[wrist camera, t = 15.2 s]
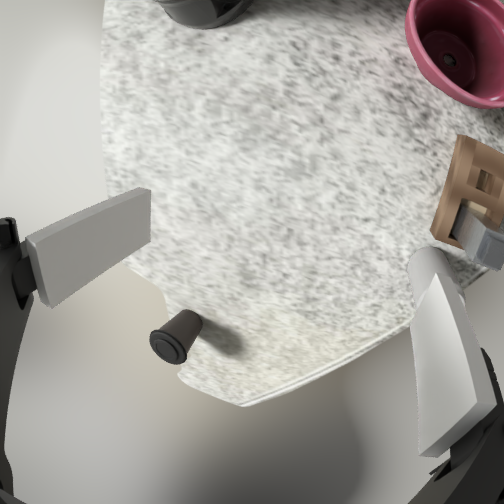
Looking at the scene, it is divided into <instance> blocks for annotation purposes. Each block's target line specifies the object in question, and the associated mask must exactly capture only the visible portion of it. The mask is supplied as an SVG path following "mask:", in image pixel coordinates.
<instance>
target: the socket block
mask: <svg viewBox="0 0 504 504" xmlns="http://www.w3.org/2000/svg"><path fill="white" fill-rule="evenodd" d="M460 203H461V204H463V205H466V206H468V207H470V208H472V209H475V210H477V211H479V212H481V213H483V214H484V215H485V216H486V217H487V218H489V219H490V220H491V221H492V222H493V223H494V224H495V225H497V226H498V227H500V224H501V221H502V219H503V216H504V154H502V153H500V152H498V151H497V150H495V149H493V148H491V147H489V146H487V145H485V144H483V143H481V142H479V141H477V140H475V139H473V138H470V137H468V136H466V135H457V140H456V144H455V148H454V153H453V157H452V161H451V164H450V168H449V172H448V175H447V179H446V182H445V186H444V189H443V192H442V196H441V199H440V202H439V205H438V208H437V211H436V214H435V217H434V220H433V223H432V225H431V228H430V232H431V233H432V235H433V237H434V238H435V239H436V240H439V241H441V242H444V243H447V244H450V245H452V246H455V247H457V248H460V249H463V247H462V246H461V245H460V243H459V242H458V240H457V239H456V238H455V236H454V235H453V234H452V232H451V228H452V225H453V223H454V220H455V217H456V214H457V211H458V208H459V205H460ZM463 250H464V249H463Z"/></svg>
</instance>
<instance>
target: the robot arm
mask: <svg viewBox="0 0 504 504" xmlns="http://www.w3.org/2000/svg"><path fill="white" fill-rule="evenodd" d="M154 1H156V2H158V3H159V4H160V5H161V6H162V7H163V8H164V10H165V12H166V13H167V14H168V16H169V17H170V18H171V19H173V20H174V21H176V22H177V23H179V24H182V25H184V26H186V27H189V28H193V29H209V28H214V27H218V26H221V25H224V24H226V23H228V22H230V21H232V20H233V19H235V18H236V17H238V16H239V15H241V14H242V13H243V12H244V11H245V10H246V9H247V8H248V7H249V6H250V5H251V3H252V2H253V0H154ZM150 214H151V190H148V189H144V188H140V187H139V188H136V189H133V190H131V191H128V192H125V193H123V194H120V195H118V196H115V197H113V198H110V199H108V200H106V201H103V202H101V203H98V204H96V205H93V206H91V207H89V208H86V209H84V210H82V211H80V212H77V213H75V214H73V215H71V216H68V217H66V218H64V219H62V220H60V221H58V222H55V223H53V224H51V225H49V226H47V227H45V228H43V229H41V230H39V231H37V232H35V233H33V234H31V235H29V236H27V237H25V241H23V242H21V243H20V241H19V236H18V231H17V226H16V220H15V219H14V218H10V217H6V218H1V219H0V504H26V503H24V502H22V501H20V500H18V499H17V498H15V497H14V495H13V476H12V470H11V467H10V464H9V462H8V460H7V458H6V455H5V451H4V441H5V429H6V419H7V411H8V404H9V397H10V391H11V385H12V380H13V375H14V370H15V365H16V361H17V357H18V352H19V348H20V344H21V341H22V337H23V333H24V330H25V326H26V323H27V319H28V316H29V313H30V310H31V307H32V304H33V301H34V296H33V293H32V292H33V291H34V290H36V289H37V290H38V293H39V297H40V300H41V302H42V303H44V304H45V305H46V306H47V307H49V308H50V309H53V308H54V307H55V306H57V305H58V304H60V303H61V302H62V301H64V300H65V299H66V298H68V297H69V296H70V295H72V294H73V293H75V292H76V291H78V290H79V289H80V288H82V287H83V286H85V285H86V284H88V283H89V282H90V281H92V280H93V279H95V278H96V277H98V276H99V275H100V274H102V273H104V272H105V271H106V270H108V269H109V268H111V267H112V266H114V265H115V264H117V263H118V262H120V261H121V260H123V259H124V258H126V257H127V256H129V255H131V254H132V253H134V252H135V251H137V250H138V249H140V248H141V247H143V246H144V245H146V244H148V243H149V242H150ZM410 330H411V336H412V344H413V352H414V361H415V371H416V381H417V382H416V383H417V398H418V420H419V421H418V424H419V450H418V455H419V456H425V457H439V456H440V455H442V454H443V453H444V452H445V451H447V450H448V449H449V448H450V455H451V457H450V458H449V459H448V460H446V461H445V462H444V463H442V464H441V465H440V466H438V467H437V468H435V469H434V470H433V471H431V472H430V473H429V474H430V475H432V474H433V473H435V472H436V473H435V474H434V475H433V477H432V478H431V479H430V480H429V481H428V482H427V484H426V485H425V486H424V487H423V488H422V489H421V490H420V491H419V493H418V494H417V495H416V496H415V497H414V498H413V499H412V500H411V501H410V502H409V503H408V504H504V402H503V398H502V395H501V391H500V388H499V384H498V382H497V378H496V374H495V372H494V368H493V365H492V363H491V359H490V358H489V356H488V355H487V353H486V352H485V350H484V349H483V348H480V346H479V343H478V340H477V338H476V335H475V332H474V330H473V327H472V325H471V322H470V320H469V317H468V315H467V312H466V310H465V308H464V305H463V303H462V301H461V298H460V296H459V294H458V292H457V290H456V287H455V285H454V283H453V281H452V279H451V277H448V276H446V275H443V274H440V273H437V272H436V273H435V276H434V278H433V280H432V282H431V284H430V286H429V288H428V290H427V292H426V294H425V296H424V298H423V300H422V302H421V304H420V306H419V308H418V310H417V312H416V314H415V316H414V317H413V319H412V321H411V323H410Z"/></svg>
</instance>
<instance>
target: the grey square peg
mask: <svg viewBox="0 0 504 504" xmlns="http://www.w3.org/2000/svg"><path fill="white" fill-rule="evenodd" d="M451 232H452V234H453V235H454V236H455V238H456V239H457V240H458V242H459V243H460V245H461V246H462V247H463V249H464V250H465V252H466V253H467V254H468V256H469V257H470V259H471V260H472V262H475V263H477V264H480V265H483V266H485V267H488V268H490V269H493V270H495V271H498V270H501V267H502V265H503V263H504V232H503V231H502V230H501V229H500V228H499V227H498V226H497V225H495V224H494V223H493V222H492V221H491V220H490V219H489V218H487V217H486V216H485V215H484V214H483V213H481V212H479V211H477V210H475V209H472V208H470V207H468V206H466V205H463V204H461V203H460V205H459V208H458V211H457V214H456V217H455V220H454V223H453V225H452V228H451Z"/></svg>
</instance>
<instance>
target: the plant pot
mask: <svg viewBox="0 0 504 504" xmlns="http://www.w3.org/2000/svg"><path fill="white" fill-rule="evenodd" d="M405 34H406V39H407V42H408V45H409V48H410V51H411V53H412V55H413V57H414V59H415V61H416V63H417V66H418V68H419V70H420V72H421V73H422V75H423V76H424V77H425V78H426V79H427V80H428V81H429V82H430V83H431V84H432V85H434V86H435V87H437V88H439V89H440V90H442V91H443V92H444V93H446V94H447V95H448V96H450V97H452V98H453V99H455V100H457V101H459V102H461V103H463V104H465V105H468V106H472V107H476V108H481V109H495V108H503V107H504V5H503V4H502V3H501V2H500V1H499V0H411V2H410V4H409V7H408V10H407V14H406V18H405ZM447 54H448V55H451V56H452V57H453V58H454V59H455V62H456V63H455V66H453V67H450V66H448V65H447V64H446V63H445V62H444V60H443V57H444V56H445V55H447Z"/></svg>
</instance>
